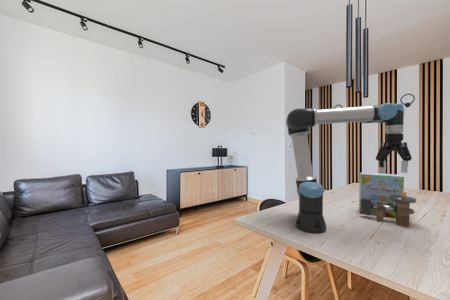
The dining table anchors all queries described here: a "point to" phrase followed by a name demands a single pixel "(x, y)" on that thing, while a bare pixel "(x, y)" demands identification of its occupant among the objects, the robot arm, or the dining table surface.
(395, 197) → the lock wheel
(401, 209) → the notched wooden block
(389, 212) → the snack box
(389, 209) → the cube-head mallet
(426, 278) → the dining table surface
